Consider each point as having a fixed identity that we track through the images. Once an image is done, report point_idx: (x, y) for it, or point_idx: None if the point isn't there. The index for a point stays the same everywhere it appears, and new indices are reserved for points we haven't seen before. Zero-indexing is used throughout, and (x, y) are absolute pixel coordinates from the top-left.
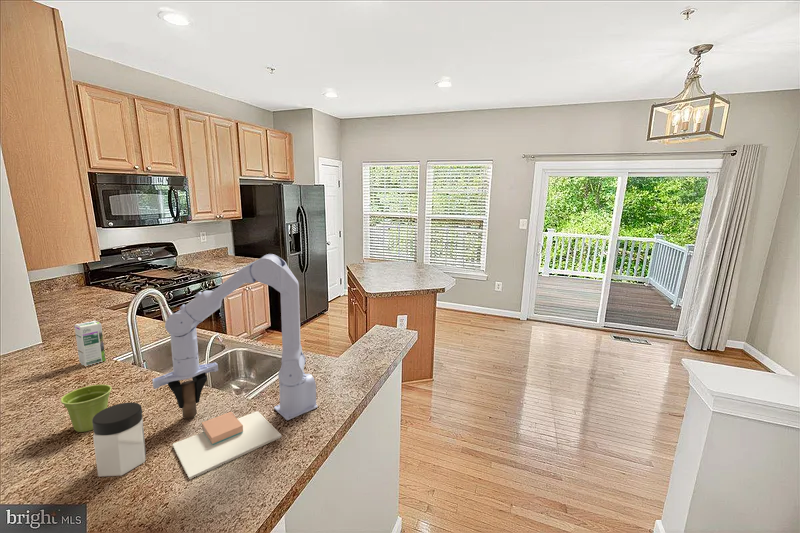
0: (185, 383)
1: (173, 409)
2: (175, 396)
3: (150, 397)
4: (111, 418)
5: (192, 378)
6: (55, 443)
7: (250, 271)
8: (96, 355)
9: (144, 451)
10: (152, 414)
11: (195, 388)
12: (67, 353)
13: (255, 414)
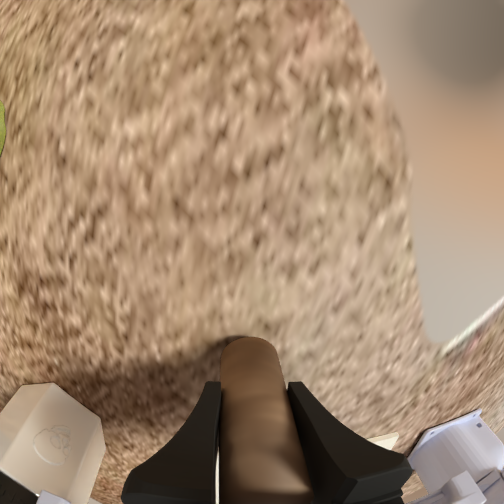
0: (256, 501)
1: (211, 228)
2: (191, 416)
3: (167, 22)
4: None
5: (333, 464)
6: None
7: None
8: None
9: (99, 463)
10: (124, 205)
11: (305, 458)
12: None
13: (383, 447)
